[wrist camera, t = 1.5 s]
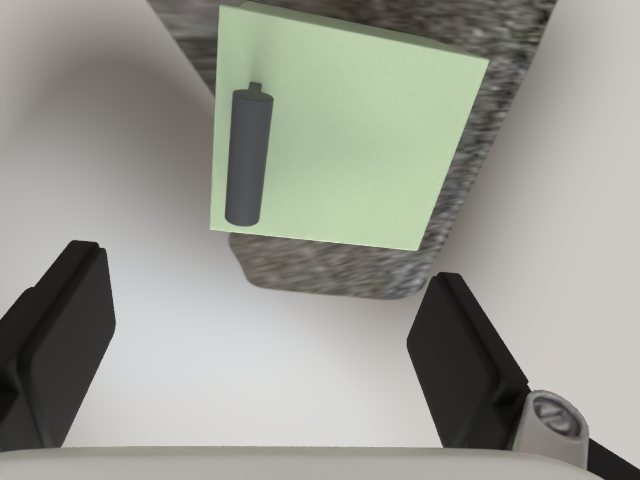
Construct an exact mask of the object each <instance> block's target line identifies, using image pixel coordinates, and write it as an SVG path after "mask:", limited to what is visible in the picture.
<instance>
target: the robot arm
mask: <svg viewBox="0 0 640 480" xmlns="http://www.w3.org/2000/svg"><path fill="white" fill-rule="evenodd" d="M115 325H116V320H115V313H114V306H113V298H112V290H111V283H110V275H109V267H108V261H107V253H106V250H105V249H104V248H100V247H99V244H98V243H97V242H89V241H78V240H73V241H71V242H70V243H69V244H68V245H67V247H66V248H65V249H64V250H63V252H62V253H61V254H60V255H59V257H58V258H57V259H56V260H55V262H54V263H53V264H52V265H51V267H50V268H49V269H48V270H47V272H46V273H45V274H44V275H43V277H42V278H41V279H40V280H39V282H38V283H37V284H36V285H35V287H30V288H28V289H26V290H25V291H24V292H23V293H22V294H21V296H20V297H19V298H18V299H17V300H16V302H15V303H14V304H13V305H12V306H11V308H10V309H9V310H8V311H7V313H6V314H5V315H4V316H3V317H2V319H1V320H0V480H640V470H639V469H638V468H636V467H635V466H633V465H631V464H630V463H628V462H627V461H625V460H624V459H622V458H620V457H619V456H617V455H616V454H614V453H613V452H611V451H609V450H608V449H606V448H605V447H603V446H602V445H600V444H598V443H597V442H595V441H594V440H592V439H590V438H589V429H588V425H587V423H586V421H585V419H584V417H583V416H582V415H581V414H580V412H579V411H578V410H577V409H576V408H575V407H574V406H573V405H572V404H571V403H570V402H568V401H567V400H565V399H564V398H562V397H561V396H559V395H557V394H554V393H552V392H549V391H545V390H534V391H531V390H530V388H529V386H528V385H527V383H528V382H529V381H528V379H527V378H526V376H525V375H524V373H523V372H522V370H521V369H520V367H519V365H518V364H517V362H516V361H515V359H514V358H513V356H512V354H511V353H510V351H509V350H508V348H507V347H506V345H505V344H504V342H503V341H502V339H501V338H500V336H499V334H498V333H497V331H496V330H495V328H494V326H493V325H492V323H491V322H490V320H489V319H488V317H487V316H486V314H485V312H484V311H483V309H482V308H481V306H480V305H479V303H478V302H477V300H476V298H475V297H474V295H473V294H472V292H471V291H470V289H469V287H468V286H467V284H466V283H465V281H464V280H463V278H462V276H461V275H460V274H458V273H448V272H439V273H438V274H437V276H433V277H432V279H431V280H430V283H429V285H428V288H427V290H426V293H425V295H424V298H423V300H422V303H421V305H420V308H419V310H418V313H417V315H416V318H415V320H414V323H413V325H412V328H411V330H410V332H409V335H408V338H407V349H408V352H409V355H410V358H411V360H412V363H413V366H414V369H415V371H416V374H417V377H418V380H419V383H420V385H421V388H422V390H423V394H424V396H425V399H426V402H427V405H428V407H429V410H430V413H431V416H432V418H433V421H434V424H435V426H436V429H437V432H438V435H439V437H440V440H441V443H442V446H443V448H405V447H256V446H255V447H254V446H253V447H251V446H243V447H240V446H233V447H232V446H230V447H229V446H222V447H220V446H219V447H218V446H217V447H216V446H215V447H213V446H211V447H210V446H198V447H197V446H195V447H194V446H188V447H187V446H184V447H183V446H180V447H179V446H170V447H169V446H167V447H166V446H164V447H163V446H162V447H161V446H155V447H153V446H151V447H148V446H147V447H146V446H145V447H144V446H141V447H139V446H138V447H80V448H79V447H74V448H73V447H72V448H61V446H62V444H63V442H64V440H65V438H66V436H67V434H68V432H69V429H70V427H71V425H72V423H73V421H74V419H75V417H76V414H77V412H78V410H79V408H80V406H81V404H82V401H83V399H84V397H85V395H86V393H87V391H88V388H89V386H90V384H91V382H92V380H93V378H94V375H95V373H96V371H97V369H98V367H99V365H100V362H101V360H102V358H103V356H104V354H105V352H106V350H107V348H108V345H109V343H110V341H111V339H112V337H113V334H114V331H115Z"/></svg>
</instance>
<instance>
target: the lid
mask: <svg viewBox="0 0 640 480" xmlns="http://www.w3.org/2000/svg"><path fill="white" fill-rule="evenodd" d="M488 63H489V59H486V58H483V57H478V56H473V55H468V54H463V53H458V52H454V51H449V50H444V49H439V48H434V47H429V46H424V45H419V44H414V43H409V42H405V41H400V40H395V39H390V38H385V37H380V36H375V35H370V34H365V33H360V32H356V31H351V30H346V29H341V28H336V27H331V26H326V25H321V24H316V23H311V22H306V21H302V20H297V19H292V18H287V17H282V16H277V15H272V14H267V13H262V12H257V11H253V10H248V9H243V8H238V7H233V6H228V5H223V4H222V5H220V6H219V25H218V48H217V71H216V94H215V117H214V139H213V163H212V185H211V186H212V187H211V209H210V229H211V230H220V231H229V232H239V233H248V234H258V235H268V236H278V237H287V238H297V239H307V240H317V241H326V242H336V243H346V244H356V245H365V246H375V247H385V248H395V249H404V250H414V251H417V250H418V248H419V245H420V243H421V240H422V237H423V235H424V232H425V229H426V227H427V224H428V222H429V219H430V216H431V214H432V211H433V208H434V206H435V203H436V200H437V198H438V195H439V193H440V190H441V187H442V185H443V182H444V179H445V177H446V174H447V171H448V169H449V166H450V164H451V161H452V158H453V156H454V153H455V150H456V148H457V145H458V142H459V140H460V137H461V135H462V132H463V129H464V127H465V124H466V121H467V119H468V116H469V113H470V111H471V108H472V105H473V103H474V100H475V98H476V95H477V92H478V90H479V87H480V84H481V82H482V79H483V76H484V74H485V71H486V69H487V66H488Z"/></svg>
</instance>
